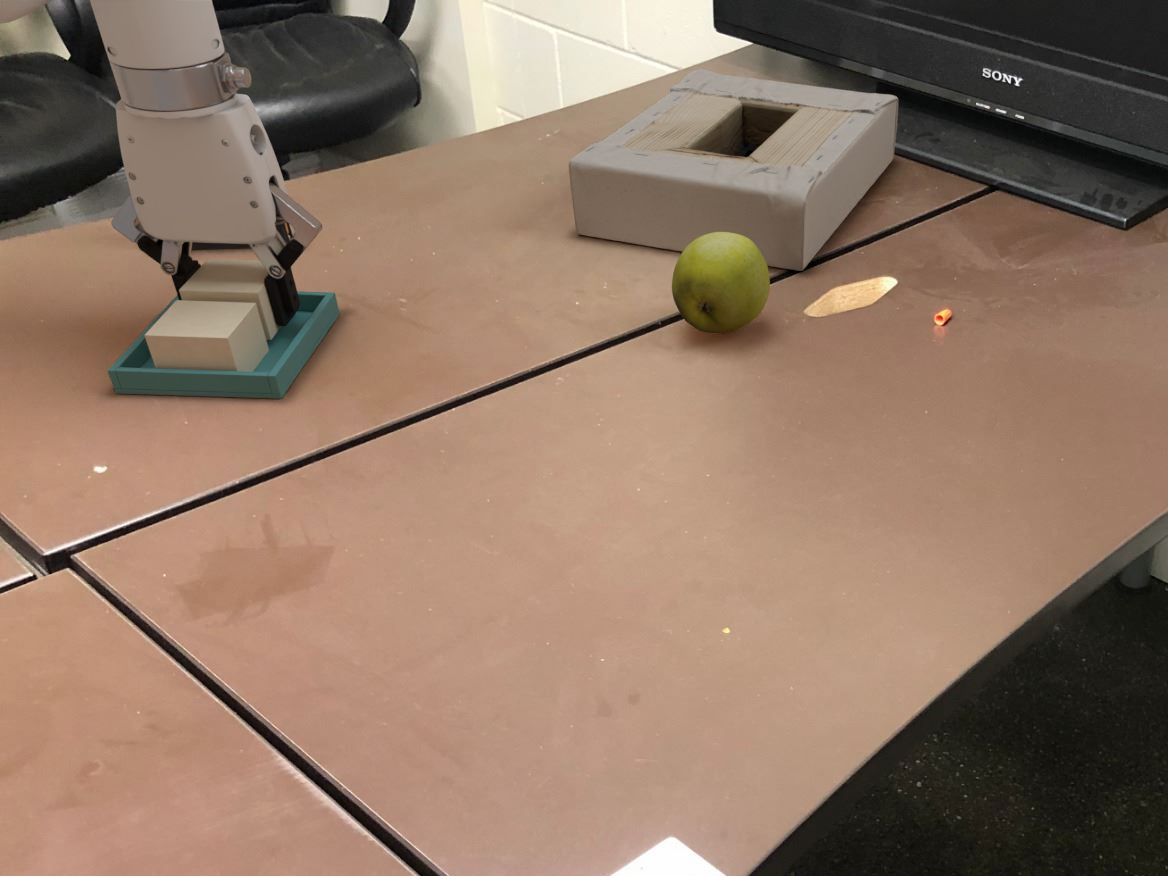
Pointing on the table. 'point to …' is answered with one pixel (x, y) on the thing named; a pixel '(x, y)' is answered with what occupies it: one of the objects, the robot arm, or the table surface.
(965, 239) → the table surface
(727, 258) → the apple
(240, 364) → the pad
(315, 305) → the tray
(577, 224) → the hollow concrete block
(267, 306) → the beige rectangular block
